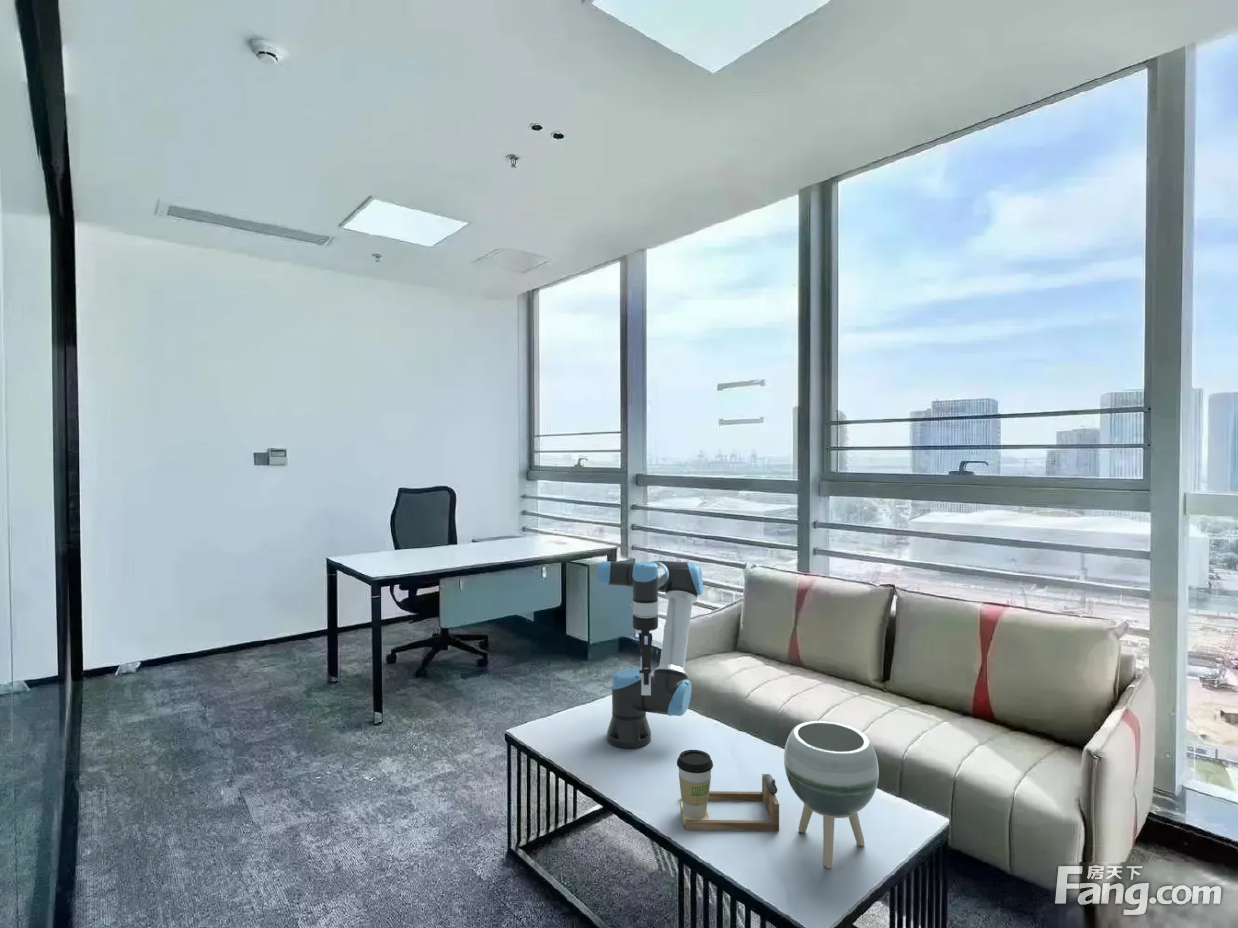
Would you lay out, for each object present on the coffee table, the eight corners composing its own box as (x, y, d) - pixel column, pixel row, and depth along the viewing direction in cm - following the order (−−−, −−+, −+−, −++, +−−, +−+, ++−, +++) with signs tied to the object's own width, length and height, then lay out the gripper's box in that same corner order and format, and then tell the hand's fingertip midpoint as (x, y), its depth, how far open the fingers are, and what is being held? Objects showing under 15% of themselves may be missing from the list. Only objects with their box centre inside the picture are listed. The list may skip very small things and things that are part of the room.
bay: (679, 797, 175) (679, 758, 175) (768, 798, 174) (768, 758, 174) (684, 829, 160) (684, 786, 160) (781, 830, 159) (781, 787, 159)
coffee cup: (711, 824, 162) (712, 767, 162) (674, 819, 164) (674, 763, 164) (713, 803, 171) (714, 750, 171) (678, 799, 173) (678, 746, 173)
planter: (826, 888, 138) (827, 765, 138) (765, 833, 158) (765, 725, 158) (899, 862, 147) (899, 746, 147) (832, 813, 167) (832, 711, 167)
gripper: (632, 604, 196) (632, 671, 196) (632, 626, 171) (633, 702, 171) (656, 604, 195) (656, 671, 196) (660, 626, 170) (660, 702, 171)
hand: (645, 686), depth 183 cm, fingers open, 13 cm apart
